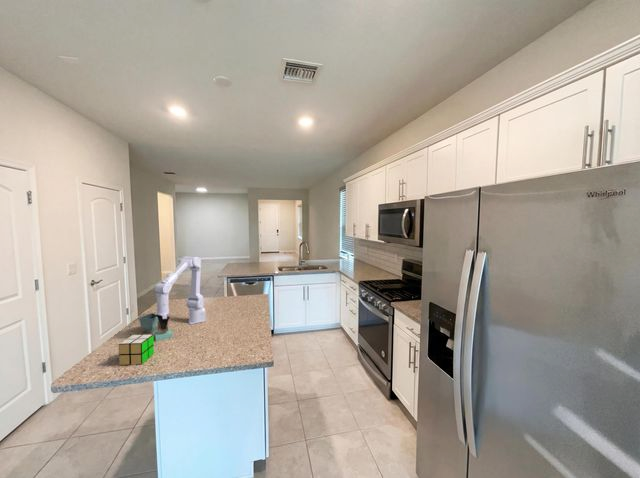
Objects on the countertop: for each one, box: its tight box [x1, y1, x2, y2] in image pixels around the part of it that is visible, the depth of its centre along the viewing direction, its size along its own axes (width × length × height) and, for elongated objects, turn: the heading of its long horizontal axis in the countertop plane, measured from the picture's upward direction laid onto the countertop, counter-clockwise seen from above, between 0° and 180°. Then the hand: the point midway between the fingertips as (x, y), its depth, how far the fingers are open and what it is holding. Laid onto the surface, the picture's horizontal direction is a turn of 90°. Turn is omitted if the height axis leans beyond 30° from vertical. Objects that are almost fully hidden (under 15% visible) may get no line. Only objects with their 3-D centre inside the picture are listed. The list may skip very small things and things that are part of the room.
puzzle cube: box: [118, 334, 155, 366], centre depth 120 cm, size 10×10×10 cm
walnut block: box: [157, 321, 169, 333], centre depth 145 cm, size 4×4×6 cm
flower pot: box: [138, 312, 159, 333], centre depth 154 cm, size 9×9×9 cm
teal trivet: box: [153, 328, 174, 342], centre depth 145 cm, size 8×8×3 cm
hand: (163, 327), depth 145 cm, fingers closed on walnut block, 4 cm apart
